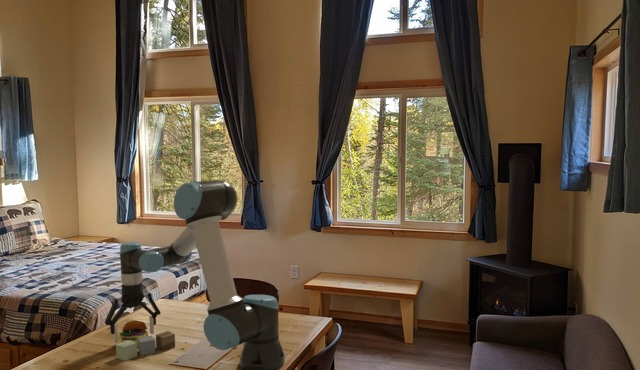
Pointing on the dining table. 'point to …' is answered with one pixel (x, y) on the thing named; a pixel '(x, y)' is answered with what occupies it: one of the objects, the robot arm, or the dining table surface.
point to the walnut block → (165, 340)
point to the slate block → (146, 345)
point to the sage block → (126, 350)
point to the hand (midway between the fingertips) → (134, 337)
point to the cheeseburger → (133, 331)
